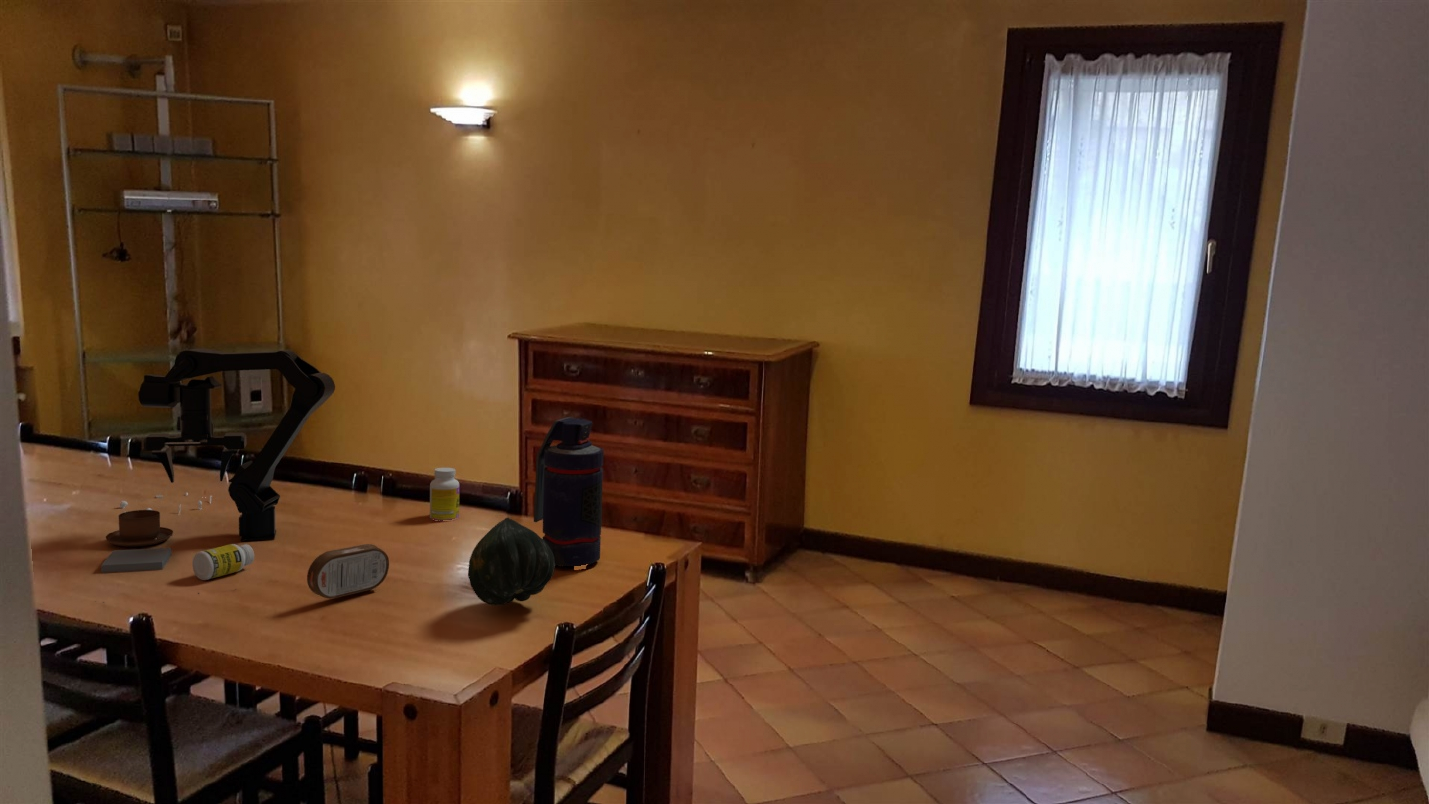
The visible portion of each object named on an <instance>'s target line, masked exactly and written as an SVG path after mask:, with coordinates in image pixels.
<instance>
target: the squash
mask: <svg viewBox="0 0 1429 804" xmlns="http://www.w3.org/2000/svg"><path fill="white" fill-rule="evenodd" d="M555 566H556V565H555V561H554V556H553V553H552V551H551V549H550V547H549V546H548V544H547V543H546V542H545V541H544V540H543V537H542V538H541V536H539V535H538V533H536V532H535V531H534V530H532V529H530V528H528V527H527V526H525V525H523V524H521V523H519V522H517V521H516V520H515V519H512V518H509V517H505V518H504V519H502V520H500V521H499V522H497V524H495V525H494V526H493V527H492V528H491V529H489V531H488V532H487V533H486V534H485V535H484V536H483V537H481V538H480V540H479V541H478V542H477V543H476V545H475V547H474V548H473V550H472V552H471V554H470V557H469V561H468V569H467V570H468V571H467V574H468V580H469V584H470V587H471V589H472V590H473V593H474V594H475V595H476V597H477V598H478V599H479V600H481V601H482V602H483V603H485V604H487V605H491V606H503V605H505V604H510V603H512V602H514V601H518V602H525V601H528V600H529V599H530V598H531V596H534V595H538V594H540V593H541V592H542V591H543V590H544V589H545V587H546V586H547V584H548V583H549V582H550V581H551V579H552V578H553V575H554V571H555V568H556V567H555ZM514 599H515V600H514Z"/></svg>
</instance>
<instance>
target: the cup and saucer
mask: <svg viewBox="0 0 1429 804" xmlns="http://www.w3.org/2000/svg"><path fill="white" fill-rule="evenodd" d="M173 535H174V530H173V529H171V528H169V527H163V526H161V512H160V511H157V510H154V509H152V510H146V509H136V510H130V511H123V512H122V513H120V514H119V515H118V529H117V530H115V531H112V532H109V533H107V534H106V535H105V539H106V541H107V542H108V543H109V544H111V545H114V546H119V547H123V548H124V547H127V548H133V547H134V548H136V547H145V546H146V547H147V546H153V545H157V544H160V543H163V542H166V541H167V540H169V539H170V538H171V537H172V536H173Z"/></svg>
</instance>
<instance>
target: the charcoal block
mask: <svg viewBox="0 0 1429 804" xmlns="http://www.w3.org/2000/svg"><path fill="white" fill-rule="evenodd" d="M171 556H172V547H161V548H159V547H158V548H140V549H117V550H116V549H115V550H112V551H111V553H110V554H109V555H108V556H107V557H106V559H105V560H104V562H102V563H101V564H100V567H101V574H108V573H125V572H126V573H128V572H142V571H143V572H144V571H163V569H164V568H165V566H166V565H167V563H168V561H169V559H170V557H171Z"/></svg>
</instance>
